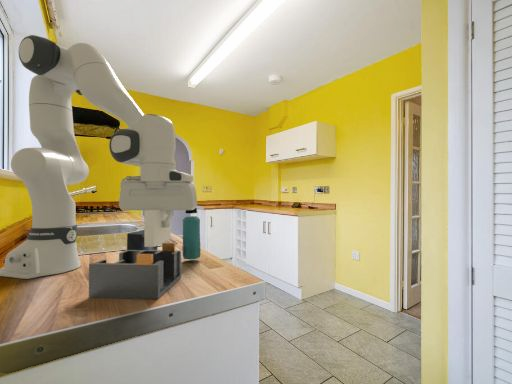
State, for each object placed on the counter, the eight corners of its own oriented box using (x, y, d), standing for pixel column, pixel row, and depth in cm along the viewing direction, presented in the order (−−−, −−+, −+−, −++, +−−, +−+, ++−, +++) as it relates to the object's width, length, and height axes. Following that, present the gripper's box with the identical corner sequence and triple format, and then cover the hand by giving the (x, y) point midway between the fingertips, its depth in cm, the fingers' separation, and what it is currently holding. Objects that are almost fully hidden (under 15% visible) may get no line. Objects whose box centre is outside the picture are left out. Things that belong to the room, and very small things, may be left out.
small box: (141, 262, 88) (141, 233, 88) (125, 261, 90) (125, 233, 90) (158, 255, 99) (158, 229, 99) (144, 254, 100) (144, 229, 100)
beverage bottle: (204, 260, 92) (204, 207, 92) (192, 264, 86) (192, 207, 86) (190, 258, 95) (190, 206, 95) (178, 262, 89) (178, 207, 89)
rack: (88, 297, 58) (89, 254, 59) (125, 276, 73) (125, 241, 74) (158, 299, 58) (158, 255, 58) (180, 277, 73) (181, 242, 73)
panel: (144, 246, 60) (144, 210, 60) (162, 239, 70) (162, 208, 70) (154, 246, 60) (154, 210, 60) (170, 239, 70) (170, 208, 70)
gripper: (113, 175, 63) (113, 228, 63) (191, 174, 62) (191, 229, 62) (127, 177, 69) (127, 225, 69) (198, 176, 68) (198, 225, 68)
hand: (158, 227), depth 65 cm, fingers closed on panel, 2 cm apart
